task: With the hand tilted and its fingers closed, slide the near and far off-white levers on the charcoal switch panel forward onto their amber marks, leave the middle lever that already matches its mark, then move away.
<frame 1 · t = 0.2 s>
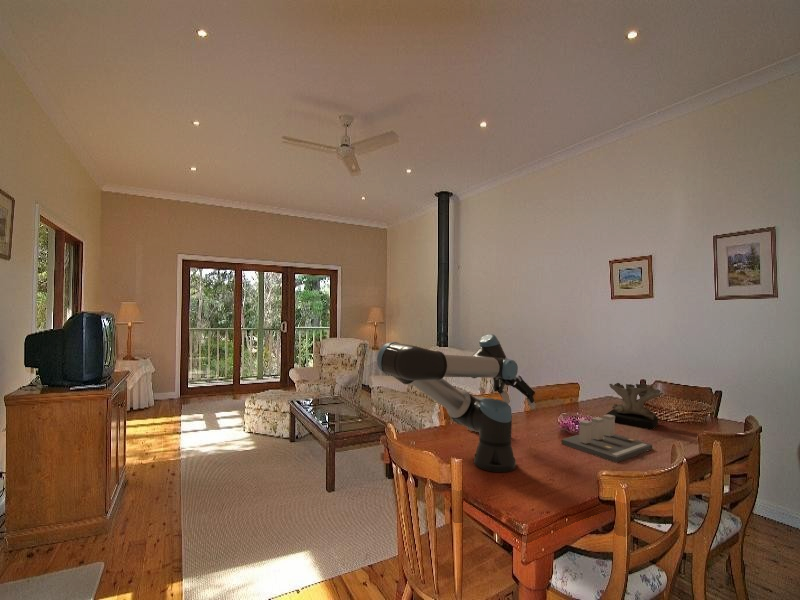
hand: (520, 405, 179), 16 cm above the table, tool tilted 35°, fingers open, 13 cm apart
circuit breaker: (484, 432, 191), on the table
switch panel: (606, 446, 174), on the table
far lever: (608, 425, 183), point 7 cm above the table, slide at 0.0 cm
near lever: (585, 431, 173), point 7 cm above the table, slide at 0.0 cm
coral: (633, 424, 208), on the table
middle lever: (597, 428, 178), point 7 cm above the table, slide at 0.0 cm
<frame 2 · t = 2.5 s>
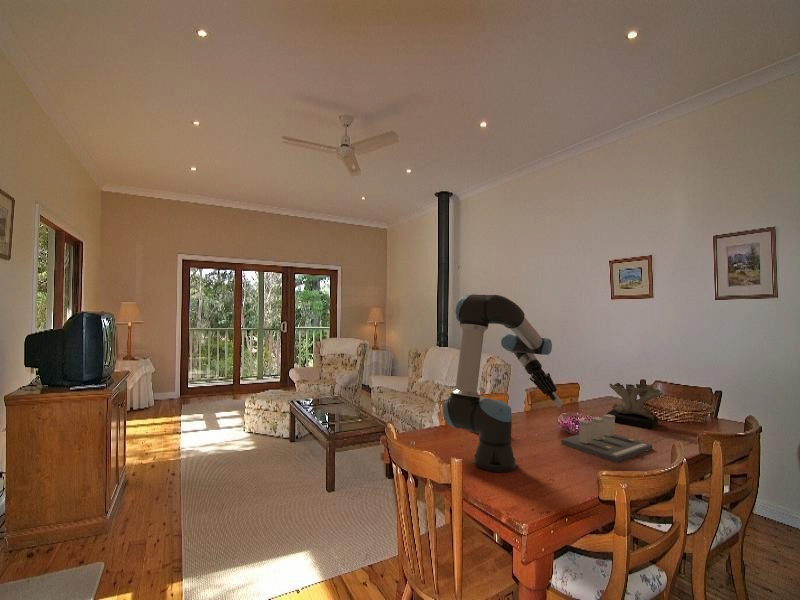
hand: (560, 405, 183), 15 cm above the table, tool tilted 45°, fingers closed
nothing on the table moved.
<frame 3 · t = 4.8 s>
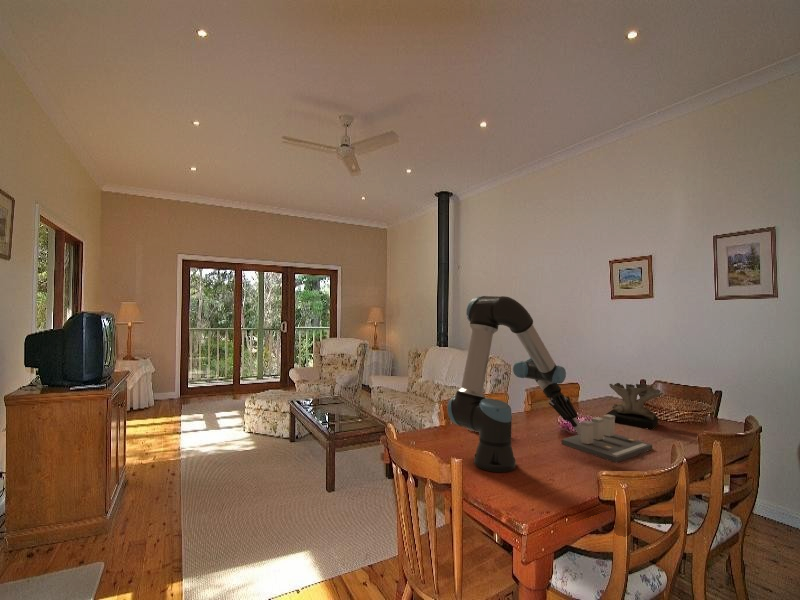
hand: (581, 432, 175), 6 cm above the table, tool tilted 45°, fingers closed
near lever: (587, 432, 172), point 7 cm above the table, slide at 0.7 cm, touching gripper
everything else where it was.
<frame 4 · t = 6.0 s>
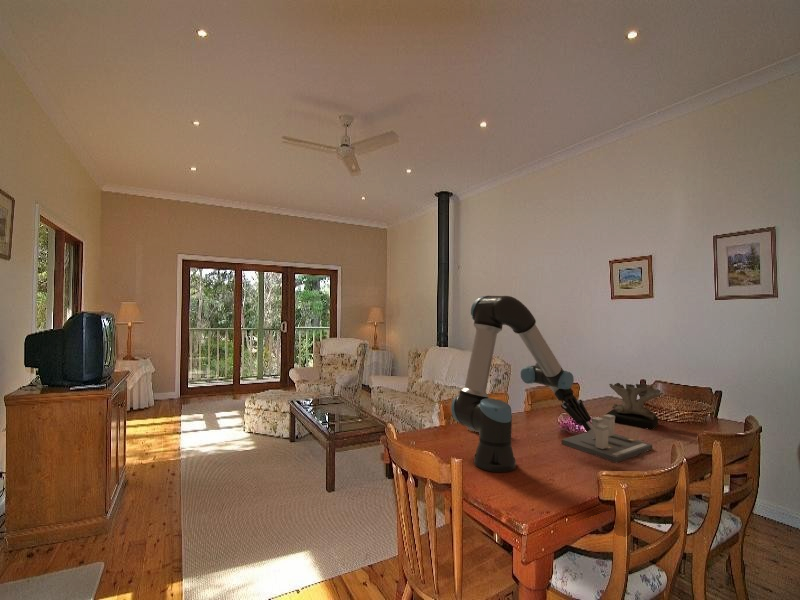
hand: (595, 437, 169), 6 cm above the table, tool tilted 45°, fingers closed
near lever: (601, 436, 167), point 7 cm above the table, slide at 7.2 cm, touching gripper
everything else where it was.
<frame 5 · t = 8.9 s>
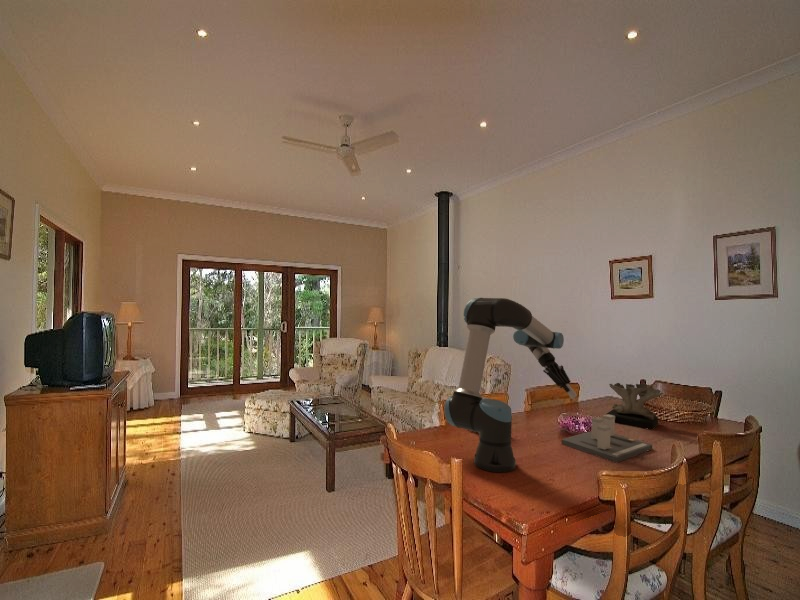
hand: (574, 397, 187), 18 cm above the table, tool tilted 45°, fingers closed
near lever: (603, 437, 166), point 7 cm above the table, slide at 8.1 cm
everything else where it was.
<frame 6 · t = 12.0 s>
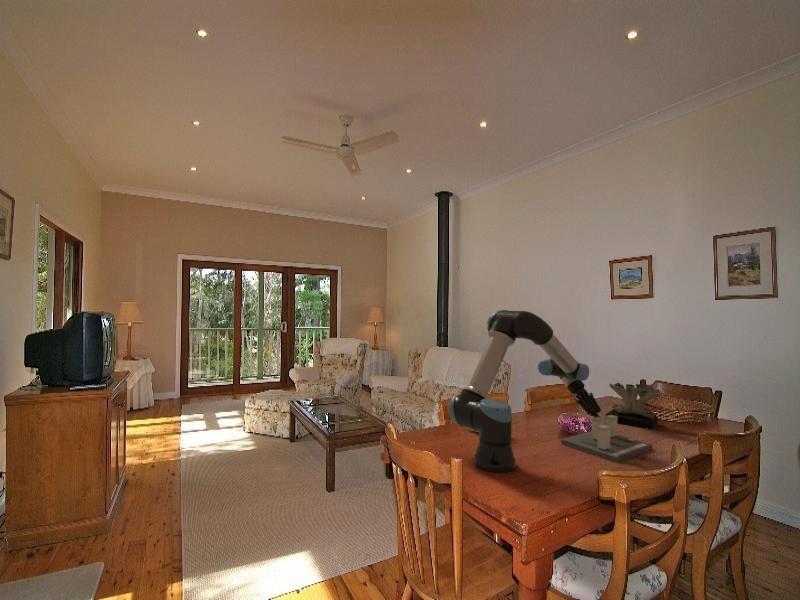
hand: (605, 426, 184), 6 cm above the table, tool tilted 45°, fingers closed
far lever: (611, 425, 182), point 7 cm above the table, slide at 1.1 cm, touching gripper
everything else where it was.
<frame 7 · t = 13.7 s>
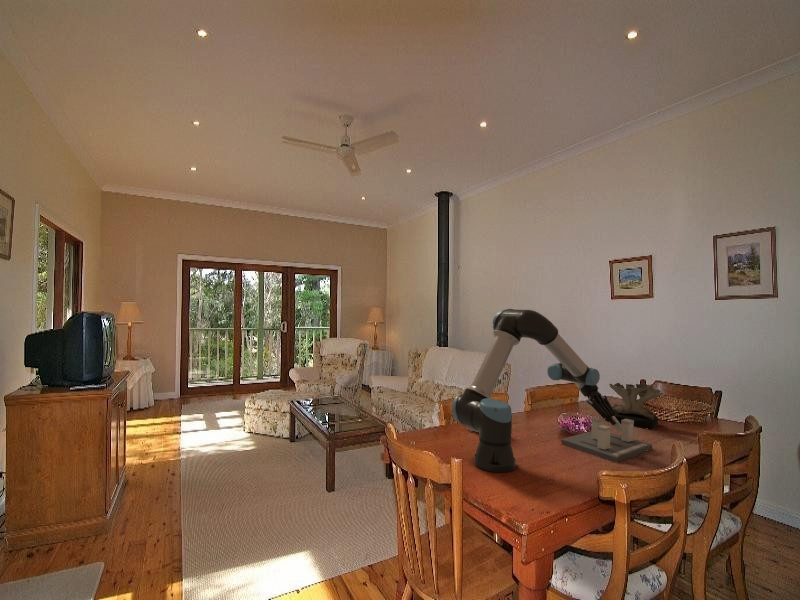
hand: (621, 430, 178), 6 cm above the table, tool tilted 45°, fingers closed
far lever: (627, 430, 176), point 7 cm above the table, slide at 8.2 cm, touching gripper
everything else where it was.
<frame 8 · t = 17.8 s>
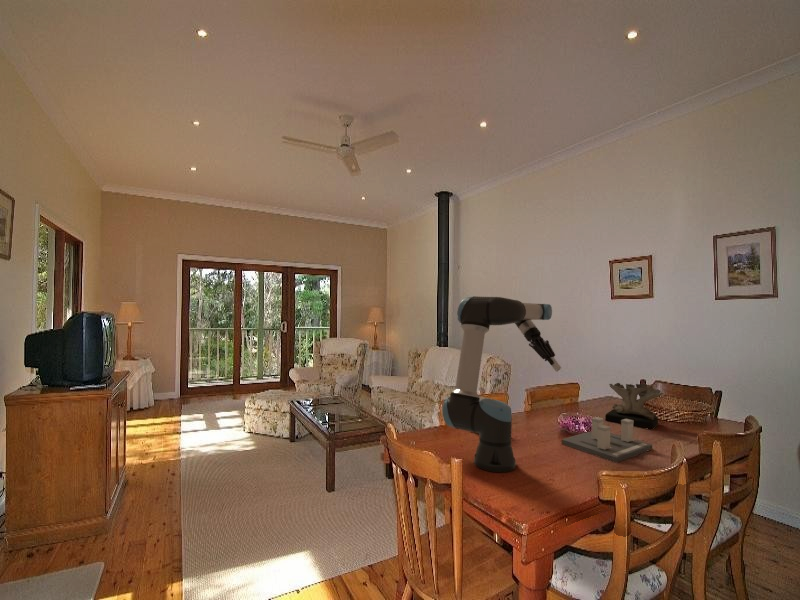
hand: (558, 369, 190), 30 cm above the table, tool tilted 45°, fingers closed
far lever: (627, 430, 176), point 7 cm above the table, slide at 8.1 cm
everything else where it was.
at the end: near lever slide at 8.1 cm; far lever slide at 8.1 cm; middle lever slide at 0.0 cm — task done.
